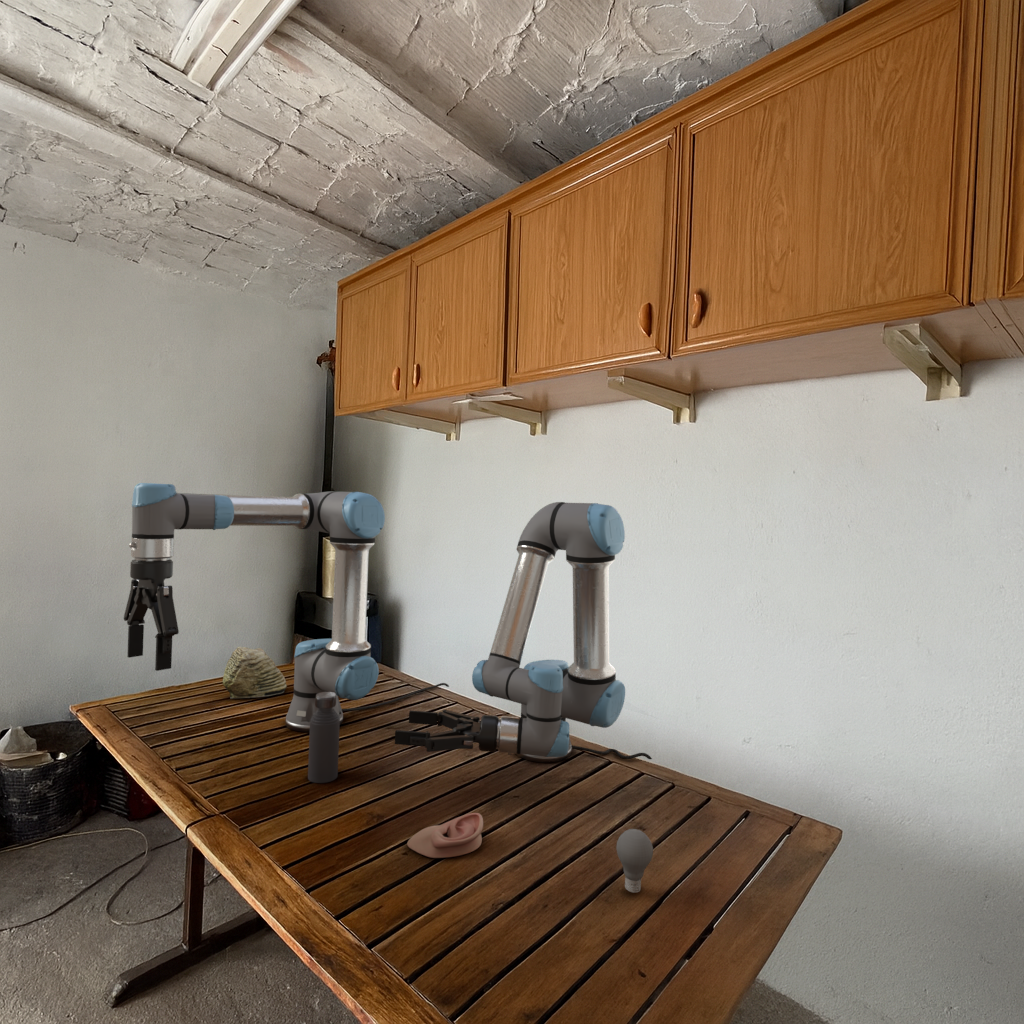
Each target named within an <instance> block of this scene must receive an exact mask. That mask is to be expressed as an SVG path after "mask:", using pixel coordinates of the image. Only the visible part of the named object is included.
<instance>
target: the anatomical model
mask: <svg viewBox="0 0 1024 1024" xmlns="http://www.w3.org/2000/svg"><path fill="white" fill-rule="evenodd" d="M483 829H484V819H483V815H482V814H481V813H480V812H471V813H467V814H464V815H461V816H458V817H455V818H453V819H451V820H448V821H446V822H444V823H442V824H437V825H431V826H427V827H425V828H423V829H421V830H419V831H418V832H416V833H415V834H414V835H412V836H411V837H410V838H409V839H408V840H407V843H406V846H407V847H408V848H409V849H411V850H412V851H414V852H416V853H417V854H420V855H423V856H424V857H428V858H430V859H444V858H453V857H459V856H463V855H467V854H469V853H471V852H474V851H476V850H477V849H478V848H480V847H481V845H482V842H483V837H482V831H483Z"/></svg>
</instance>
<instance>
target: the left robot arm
mask: <svg viewBox="0 0 1024 1024" xmlns="http://www.w3.org/2000/svg"><path fill="white" fill-rule="evenodd" d="M385 515H386V513H385V511H384V508H383V505H382V503H381V502H380V501H379V500H378V498H377V497H375V495H373V494H370V493H367V492H363V491H362V492H361V491H337V490H336V491H335V490H333V491H332V490H330V491H321V492H311V493H295V494H294V495H293V496H276V495H275V496H274V495H273V496H272V495H248V494H247V495H246V494H244V495H243V494H220V493H219V494H218V493H217V494H216V493H215V494H214V493H189V492H187V493H186V492H177V491H176V486H175V485H174V484H173V483H152V482H139V483H137V484H136V485H135V486H134V488H133V492H132V501H131V520H132V521H131V542H130V543H128V547H129V548H130V549H131V550H130V556H131V558H133V559H132V560H131V561H130V567H129V568H130V571H129V574H130V575H129V576H130V578H131V581H130V590H129V594H128V598H127V603H126V607H125V610H124V615H123V621H124V622H126V624H127V626H128V629H127V630H128V631H127V658H135V657H142V656H144V635H145V634H144V630H145V625H144V624H145V623H146V621H145V619H144V618H145V616H146V615H147V612H148V609H149V610H151V613H152V618H153V620H154V624H155V627H156V631H157V633H156V635H155V636H154V638H155V661H154V663H155V665H154V668H155V669H154V670H155V671H157V672H159V671H164V670H169V669H172V659H173V657H172V655H173V637H175V636H176V635H179V632H180V631H179V625H178V619H177V615H176V614H177V613H176V609H175V603H174V597H173V595H174V593H173V585H165V580H167V579H171V578H172V577H173V575H174V573H173V572H174V561H173V560H172V559H171V558H173V557H174V554H175V553H174V552H175V530H213V531H215V530H224V529H228V528H230V526H233V527H234V526H237V527H238V526H240V527H243V526H246V527H247V526H249V527H250V526H258V527H259V526H268V527H269V526H276V527H277V526H282V527H284V526H285V527H286V526H287V527H288V526H289V527H290V526H291V527H293V528H294V529H296V530H308V531H309V530H310V531H316V532H319V533H325V534H329V544H330V545H331V546H332V547H333V548H334V550H335V551H334V572H333V573H334V577H333V599H332V625H331V626H332V627H331V638H317V639H308V640H304V641H300V642H299V643H297V645H296V646H295V650H294V655H293V657H294V672H293V673H294V674H293V695H292V696H293V697H292V699H291V702H290V704H289V708H288V711H287V713H286V715H285V726H286V728H287V729H289V730H291V731H294V732H295V731H296V732H301V733H310V720H311V717H312V716H313V715H314V714H315V712H316V711H317V709H318V708H317V707H316V706H315V698H316V694H318V693H321V692H333V693H335V694H336V705H335V707H333V709H334V711H336V713H337V715H338V716H339V718H340V725H342V723H343V722H344V713H343V712H356V711H361V710H362V711H363V710H368V709H373V708H377V707H381V706H385V705H388V704H392V703H394V702H397V701H401V700H403V699H405V698H408V697H410V696H413V695H416V694H418V693H421V692H424V691H428V690H432V689H436V688H438V687H441V686H445V687H446V688H449V687H450V685H449V684H448V683H446V682H441V683H438V684H435V685H432V686H428V687H427V686H426V687H424V688H420V689H418V690H415V691H413V692H409V693H406V694H405V695H402V696H399V697H397V698H393V699H391V700H387V701H384V702H380V703H376V704H371V705H367V706H366V705H365V706H361V707H360V706H359V707H351V708H350V707H349V708H342V706H341V702H340V699H339V698H341V699H342V700H343V699H344V700H348V701H349V700H350V701H357V700H360V699H362V698H364V697H365V696H367V695H368V694H370V692H371V690H372V689H374V687H375V685H376V683H377V682H378V678H379V674H380V672H379V671H380V670H379V669H380V668H379V665H378V663H377V662H376V660H375V659H374V657H371V652H372V649H371V648H372V644H371V643H370V642H368V640H367V639H366V631H367V607H368V606H367V605H368V604H367V602H368V582H369V581H368V579H369V555H370V553H369V552H370V550H371V548H372V547H374V545H375V544H376V536H378V535H379V534H380V533H381V530H383V528H384V526H385V522H386V521H385V520H386V516H385Z"/></svg>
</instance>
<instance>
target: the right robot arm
mask: <svg viewBox="0 0 1024 1024" xmlns="http://www.w3.org/2000/svg"><path fill="white" fill-rule="evenodd" d="M625 535H626V533H625V525H624V521H623V518H622V516H621V514H620V513H619V512H618V510H617V509H616V508H615V507H613V506H612V505H609V504H604V503H603V504H602V503H597V502H594V503H593V502H565V501H556V502H552V503H549V504H546V505H545V506H543V507H542V508H540V509H539V510H538V511H537V512H536V513H535V514H534V515H533V516H532V517H531V518H530V519H529V520H528V522H527V523H526V525H525V527H524V529H523V530H522V532H521V534H520V536H519V539H518V542H517V545H516V552H517V553H518V556H517V560H516V564H515V567H514V570H513V574H512V577H511V580H510V584H509V588H508V591H507V594H506V597H505V601H504V604H503V608H502V611H501V615H500V617H499V621H498V624H497V628H496V631H495V635H494V638H493V642H492V645H491V647H490V648H491V649H490V652H489V655H488V657H487V659H482V660H480V661H478V662H477V663H476V666H475V667H474V668H473V671H472V674H471V681H472V685H473V688H474V689H475V690H476V691H477V692H478V693H481V694H484V695H488V697H494V698H498V699H503V700H507V701H509V702H513V703H517V704H520V707H521V708H520V717H519V716H505V715H502V716H501V717H500V718H499V716H498V715H490V714H483V715H482V716H481V717H480V716H473V715H469V714H464V713H460V712H456V711H453V710H449V709H442V711H439V712H436V711H422V710H411V709H409V712H408V724H414V725H415V724H416V725H425V726H437V728H439V727H446V728H448V729H450V730H446V731H439V732H434V733H431V732H430V731H428V730H426V731H425V732H424V731H413V730H399V729H396V730H395V731H394V745H398V746H399V745H400V746H412V747H424V748H425V749H426V752H427V753H431V752H441V751H442V752H443V751H452V750H453V751H454V750H473V749H474V744H476V743H477V744H478V749H479V751H480V752H487V753H495V752H496V751H497V750H498V752H499V753H502V754H503V753H504V754H508V756H512V755H513V754H514V755H516V756H517V757H519V758H521V759H523V760H526V761H530V762H535V763H556V762H561V761H565V760H567V759H569V758H570V757H571V755H572V750H577V751H584V752H587V753H591V754H595V755H602V756H604V755H607V754H609V753H614V754H616V755H617V756H618V758H620V759H622V760H632V759H635V758H638V757H645V758H646V759H648V760H653V758H652V757H651V755H649V754H648V753H646V752H638V753H634V754H631V755H630V754H629V755H624V754H621V753H620V751H618V749H615V748H608V749H606V750H604V751H602V750H596V749H592V748H588V747H584V746H578V745H572V742H571V738H570V737H571V736H570V723H569V721H567V720H570V721H571V720H572V721H574V722H578V723H582V724H585V725H590V727H598V728H601V729H602V728H603V729H606V728H609V727H611V726H613V725H614V723H616V722H617V720H618V718H619V716H620V715H621V713H622V710H623V707H624V703H625V699H626V686H625V684H624V682H623V681H621V680H620V679H617V678H616V677H617V676H616V672H617V670H616V668H615V667H614V666H613V665H612V664H611V663H610V581H609V580H610V579H609V578H610V577H609V575H610V574H609V571H610V570H609V568H610V566H611V565H612V564H613V563H614V562H616V561H615V560H616V555H619V554H620V553H621V551H622V550H623V548H624V543H625V537H626V536H625ZM558 551H565V561H566V562H567V563H568V564H569V565H570V566H571V568H572V613H573V614H572V621H573V622H572V623H573V624H572V625H573V626H572V627H573V628H572V631H573V633H572V634H573V662H572V663H571V664H570V665H569V663H568V661H566V660H562V659H541V660H536V661H535V660H534V661H531V662H529V663H526V664H525V665H524V667H523V668H521V667H520V666H521V662H522V659H523V655H524V651H525V648H526V645H527V641H528V638H529V634H530V631H531V626H532V623H533V621H534V617H535V613H536V609H537V606H538V602H539V599H540V595H541V591H542V588H543V585H544V580H545V577H546V574H547V570H548V567H549V564H550V563H551V562H553V561H554V560H555V557H556V553H557V552H558Z"/></svg>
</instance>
